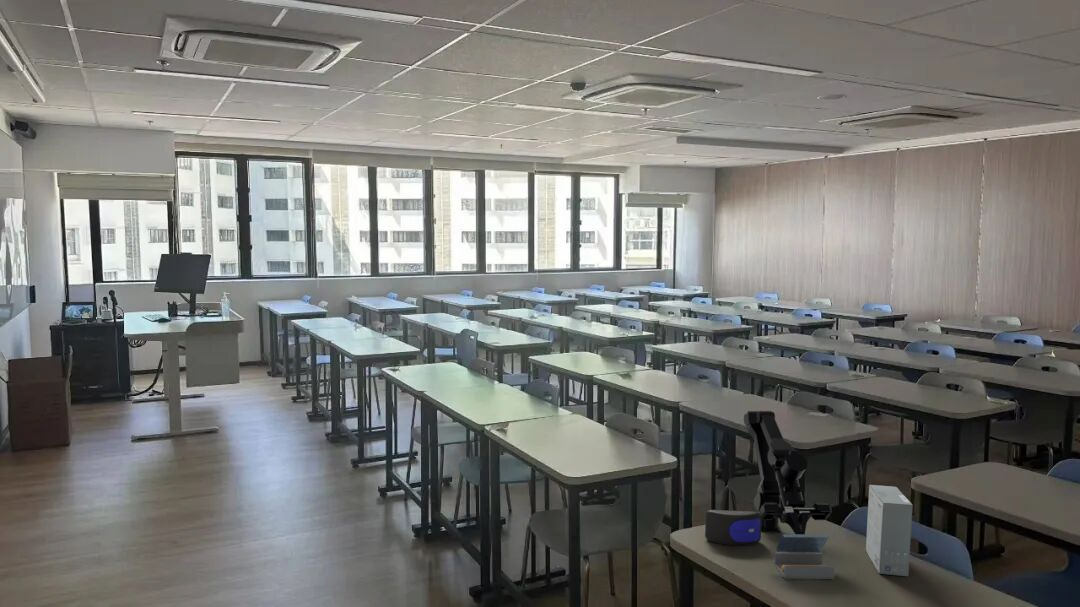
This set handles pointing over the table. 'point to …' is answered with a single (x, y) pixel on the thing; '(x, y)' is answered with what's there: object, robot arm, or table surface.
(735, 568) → the table surface
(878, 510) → the hard drive box
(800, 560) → the cable duct
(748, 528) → the grey blue curved block
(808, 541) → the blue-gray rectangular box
